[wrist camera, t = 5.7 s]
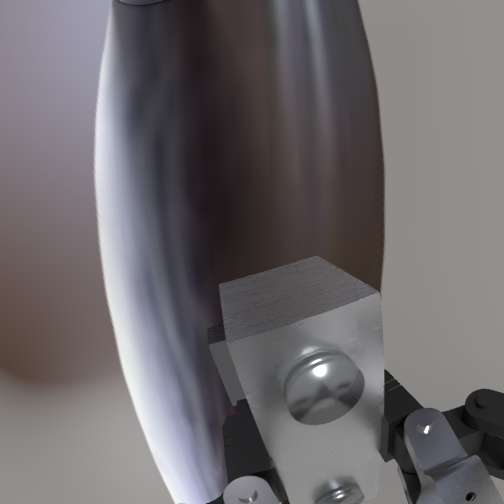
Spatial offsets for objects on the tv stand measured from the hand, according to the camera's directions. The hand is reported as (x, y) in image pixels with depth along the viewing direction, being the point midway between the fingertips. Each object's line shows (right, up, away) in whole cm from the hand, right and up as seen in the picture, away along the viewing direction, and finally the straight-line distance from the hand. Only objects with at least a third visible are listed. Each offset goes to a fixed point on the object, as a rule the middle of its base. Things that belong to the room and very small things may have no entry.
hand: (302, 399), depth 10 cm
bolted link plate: (0, 0, +1) cm, 1 cm away
